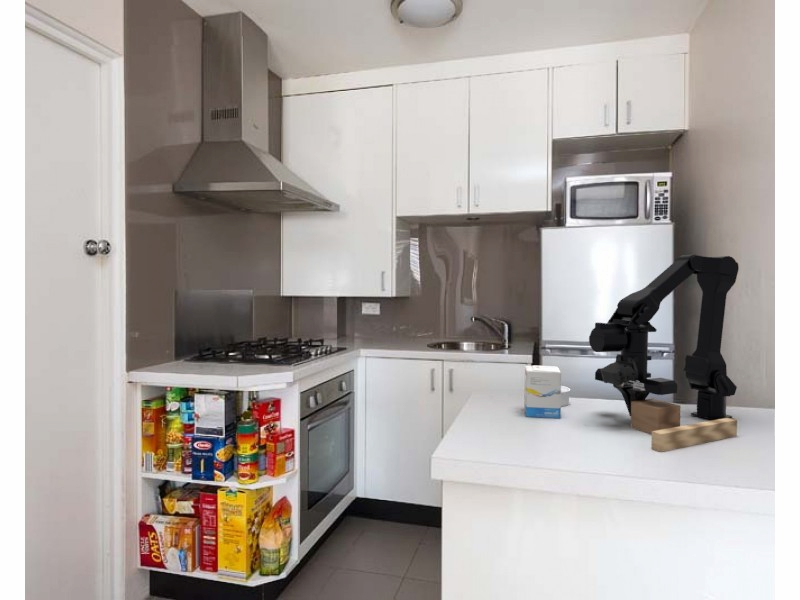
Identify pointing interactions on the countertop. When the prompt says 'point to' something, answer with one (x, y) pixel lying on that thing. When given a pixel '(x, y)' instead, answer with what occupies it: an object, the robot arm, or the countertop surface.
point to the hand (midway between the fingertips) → (632, 416)
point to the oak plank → (693, 434)
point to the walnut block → (654, 415)
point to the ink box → (542, 391)
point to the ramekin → (564, 395)
